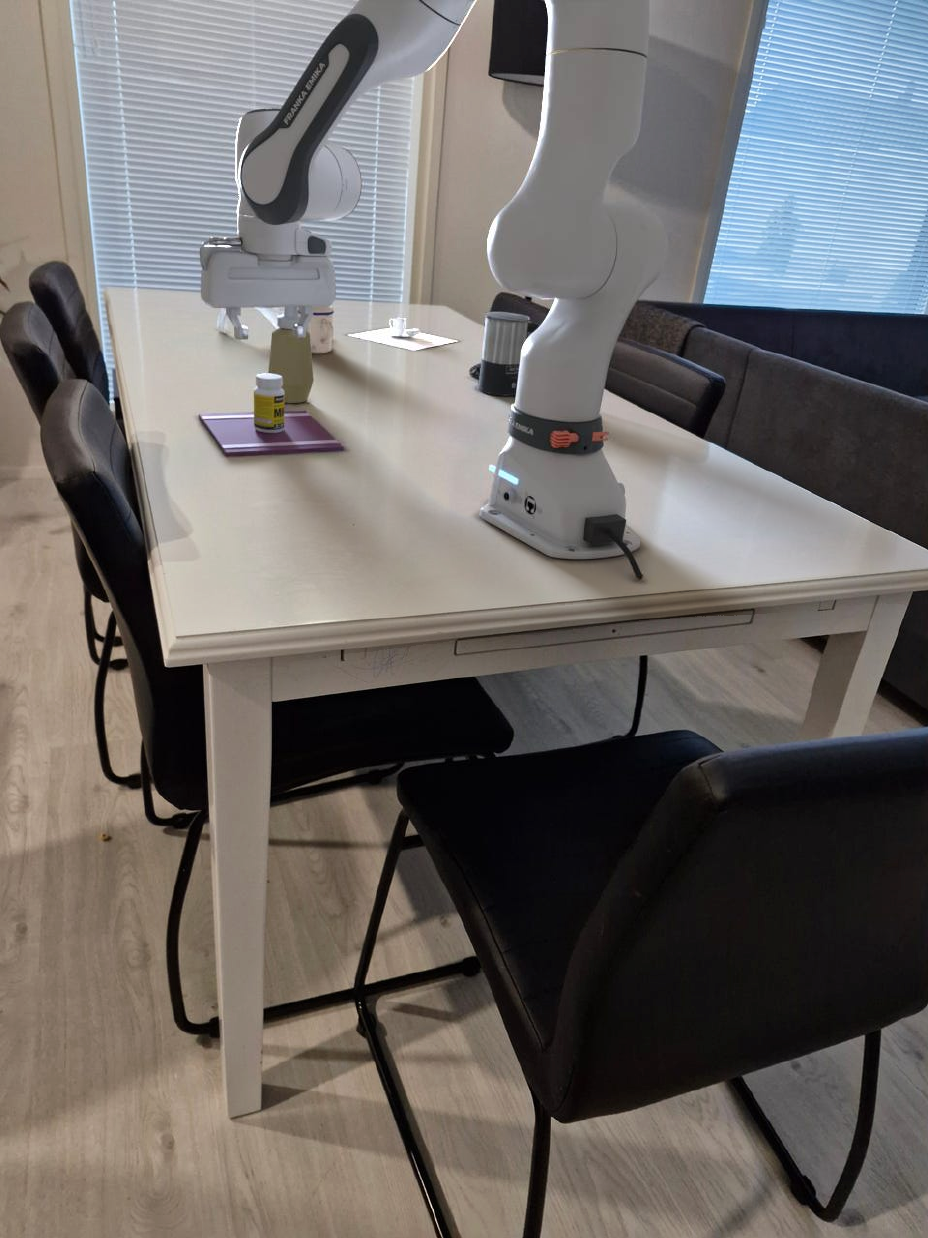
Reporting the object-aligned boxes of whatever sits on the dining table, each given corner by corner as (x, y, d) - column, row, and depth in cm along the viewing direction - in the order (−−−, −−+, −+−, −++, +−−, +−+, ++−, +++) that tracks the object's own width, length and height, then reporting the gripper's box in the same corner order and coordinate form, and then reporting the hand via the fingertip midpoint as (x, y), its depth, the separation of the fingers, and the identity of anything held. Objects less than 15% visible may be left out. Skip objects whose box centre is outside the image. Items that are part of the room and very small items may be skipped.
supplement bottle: (277, 435, 136) (277, 381, 132) (249, 431, 137) (248, 377, 133) (289, 427, 140) (289, 375, 136) (261, 423, 141) (260, 370, 137)
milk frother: (504, 399, 173) (513, 321, 166) (441, 381, 181) (448, 306, 174) (542, 389, 183) (552, 316, 176) (481, 373, 191) (489, 302, 184)
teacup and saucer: (423, 336, 220) (425, 320, 219) (405, 340, 214) (406, 323, 212) (395, 330, 224) (396, 314, 222) (377, 333, 218) (377, 317, 216)
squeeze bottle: (258, 399, 156) (256, 292, 147) (286, 391, 162) (286, 289, 154) (295, 408, 153) (295, 300, 144) (322, 400, 159) (324, 296, 151)
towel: (344, 450, 135) (344, 446, 135) (226, 456, 127) (226, 451, 127) (305, 413, 150) (305, 409, 150) (198, 417, 143) (198, 413, 142)
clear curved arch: (305, 325, 219) (305, 295, 216) (324, 335, 211) (325, 304, 207) (212, 326, 207) (210, 294, 204) (229, 336, 198) (228, 303, 195)
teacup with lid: (283, 346, 196) (283, 291, 190) (318, 343, 201) (319, 290, 196) (313, 358, 188) (314, 301, 183) (348, 355, 194) (350, 300, 188)
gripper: (207, 239, 117) (212, 344, 124) (341, 243, 129) (339, 339, 135) (190, 233, 122) (195, 336, 128) (321, 238, 133) (320, 331, 139)
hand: (270, 337), depth 132 cm, fingers open, 8 cm apart
